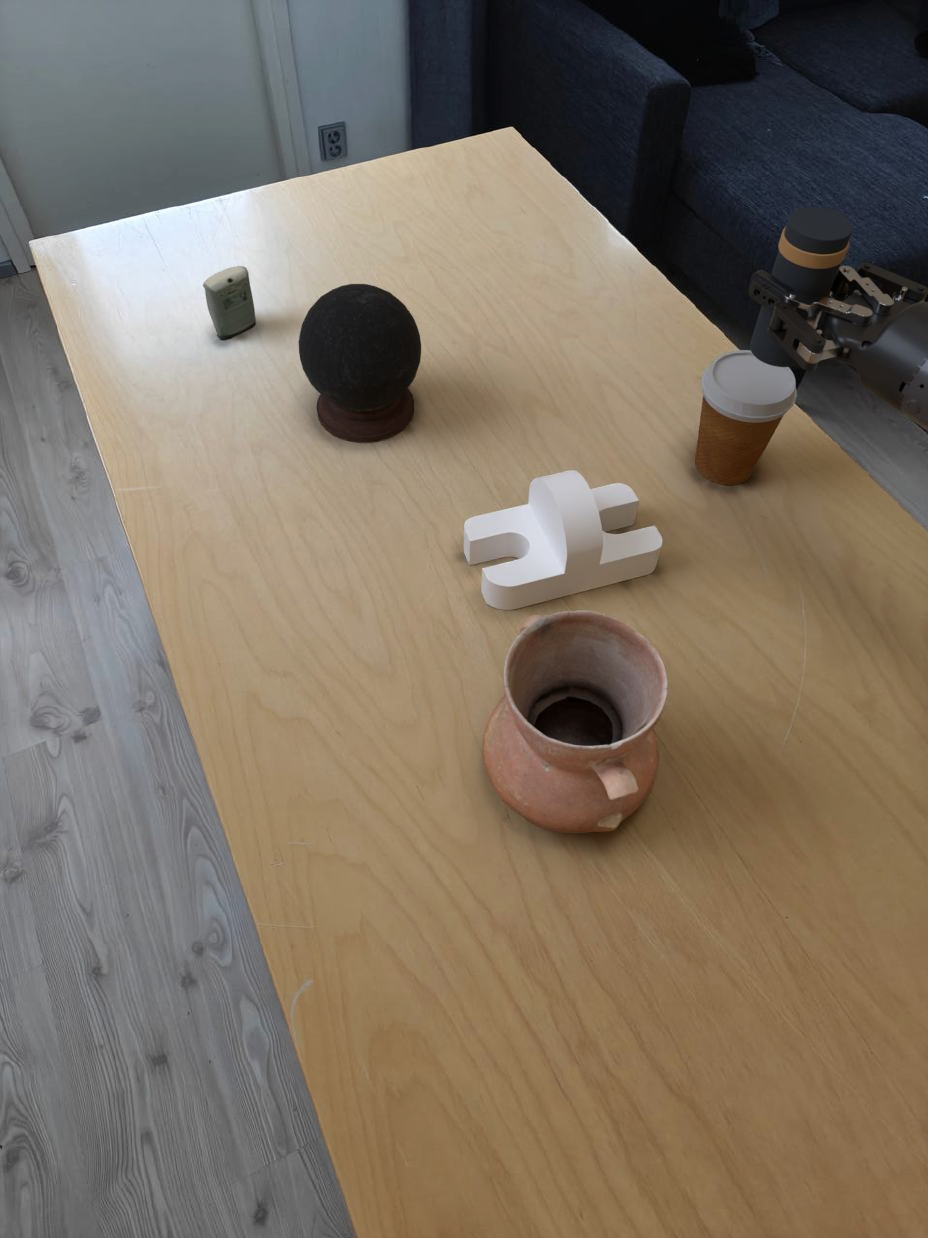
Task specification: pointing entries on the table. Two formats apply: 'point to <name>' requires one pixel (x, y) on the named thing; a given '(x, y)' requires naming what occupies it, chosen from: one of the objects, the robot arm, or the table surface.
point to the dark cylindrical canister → (803, 269)
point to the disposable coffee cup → (740, 414)
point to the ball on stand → (361, 361)
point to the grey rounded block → (230, 301)
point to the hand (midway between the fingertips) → (776, 270)
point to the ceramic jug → (576, 722)
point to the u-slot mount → (560, 542)
